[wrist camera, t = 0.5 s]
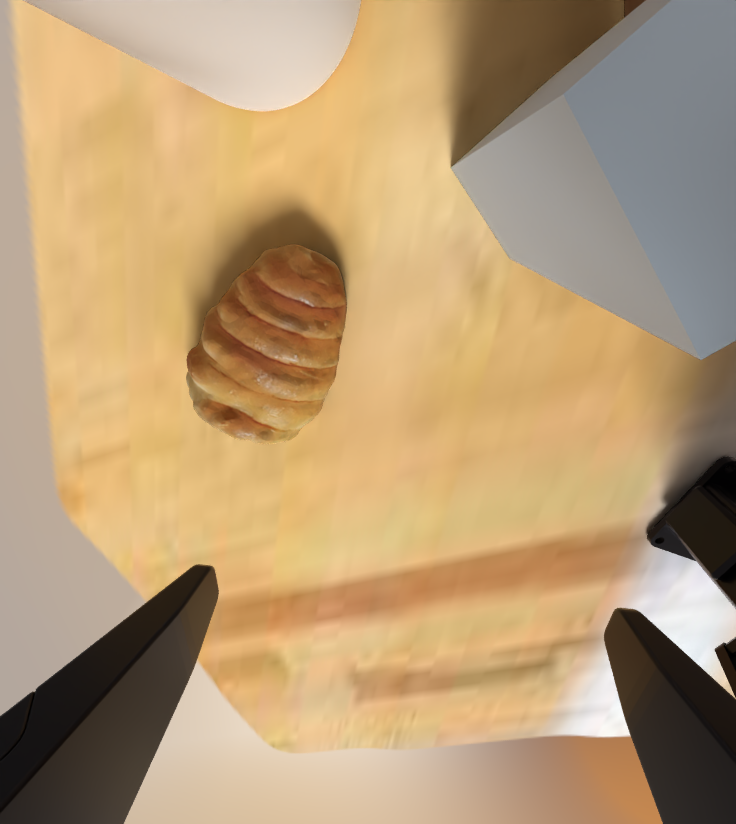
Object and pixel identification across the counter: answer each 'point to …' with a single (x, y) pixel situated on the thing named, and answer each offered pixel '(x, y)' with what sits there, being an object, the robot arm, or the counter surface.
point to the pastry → (270, 347)
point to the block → (628, 174)
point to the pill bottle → (225, 42)
